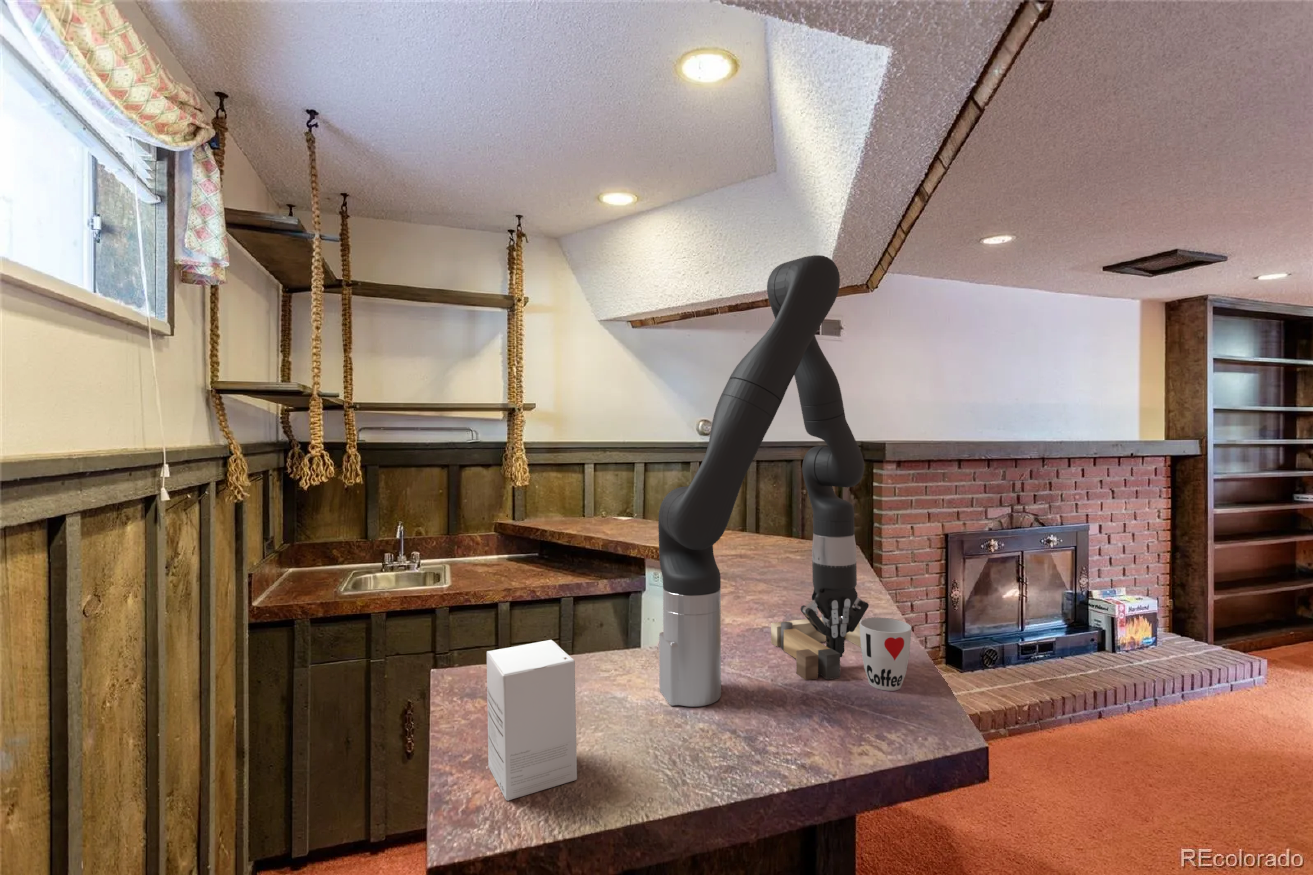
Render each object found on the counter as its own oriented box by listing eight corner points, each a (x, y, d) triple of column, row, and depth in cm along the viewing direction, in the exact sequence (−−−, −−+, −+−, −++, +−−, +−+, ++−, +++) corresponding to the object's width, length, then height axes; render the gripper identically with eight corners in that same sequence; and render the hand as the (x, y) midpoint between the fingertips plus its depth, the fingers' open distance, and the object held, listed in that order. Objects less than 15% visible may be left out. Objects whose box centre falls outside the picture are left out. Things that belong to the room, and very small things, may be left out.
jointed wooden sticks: (805, 680, 106) (805, 656, 106) (757, 644, 123) (757, 624, 123) (907, 665, 112) (907, 643, 112) (848, 633, 129) (848, 614, 129)
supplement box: (554, 747, 84) (553, 637, 84) (578, 781, 76) (577, 659, 76) (486, 765, 80) (485, 649, 79) (504, 803, 72) (503, 674, 71)
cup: (855, 688, 102) (855, 628, 102) (863, 671, 109) (863, 614, 109) (908, 698, 98) (908, 635, 98) (913, 679, 106) (913, 621, 105)
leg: (826, 679, 105) (826, 651, 105) (777, 646, 121) (777, 622, 121) (840, 677, 106) (840, 649, 106) (789, 645, 122) (789, 620, 122)
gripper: (812, 567, 105) (814, 669, 105) (879, 560, 109) (880, 659, 109) (790, 558, 112) (791, 653, 112) (853, 552, 116) (854, 644, 116)
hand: (835, 656), depth 111 cm, fingers closed
